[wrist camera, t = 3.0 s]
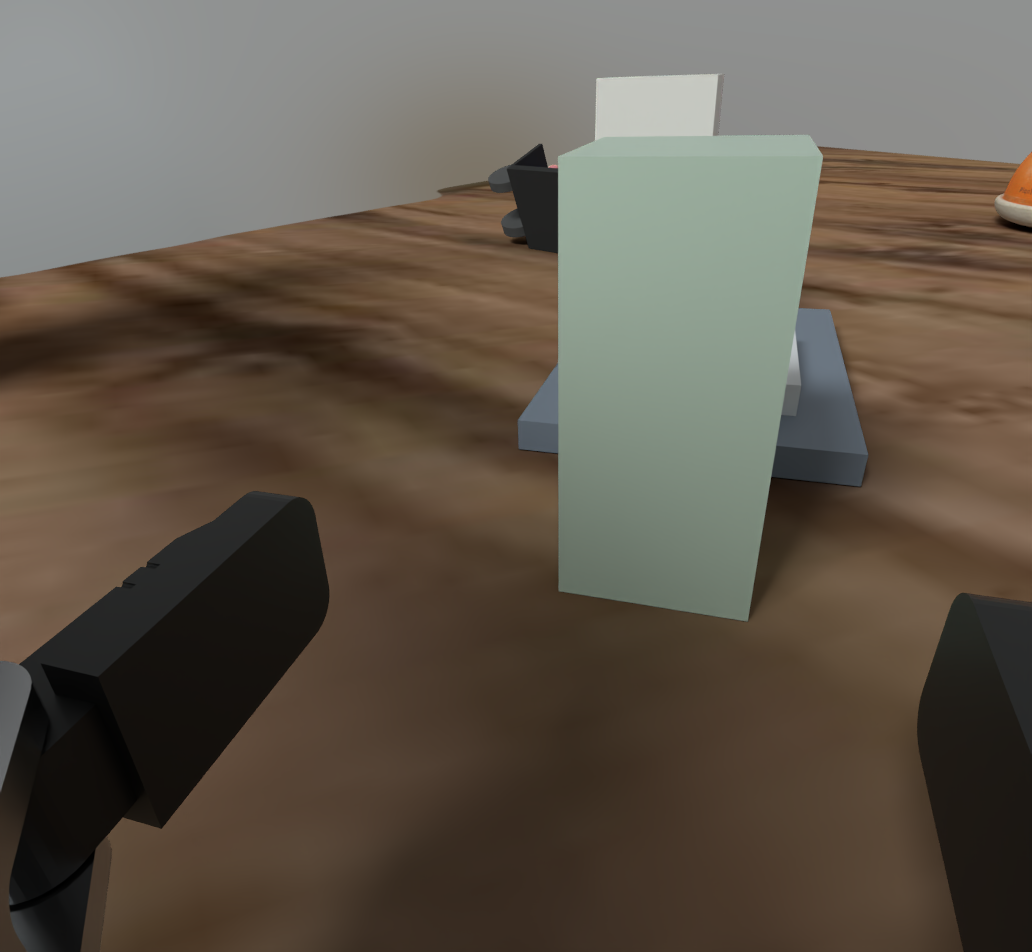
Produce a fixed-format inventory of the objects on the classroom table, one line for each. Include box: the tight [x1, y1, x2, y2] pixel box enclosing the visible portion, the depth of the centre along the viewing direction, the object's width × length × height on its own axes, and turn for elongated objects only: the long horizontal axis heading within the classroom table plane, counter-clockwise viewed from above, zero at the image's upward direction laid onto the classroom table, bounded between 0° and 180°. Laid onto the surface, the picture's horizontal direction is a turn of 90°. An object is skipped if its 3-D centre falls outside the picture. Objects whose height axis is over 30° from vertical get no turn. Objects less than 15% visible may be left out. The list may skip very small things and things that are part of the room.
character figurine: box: [488, 144, 558, 253], centre depth 56 cm, size 8×7×15 cm
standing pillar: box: [595, 74, 724, 141], centre depth 35 cm, size 5×5×11 cm
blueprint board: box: [518, 308, 868, 486], centre depth 32 cm, size 12×17×2 cm
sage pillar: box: [558, 135, 823, 622], centre depth 19 cm, size 5×5×11 cm
